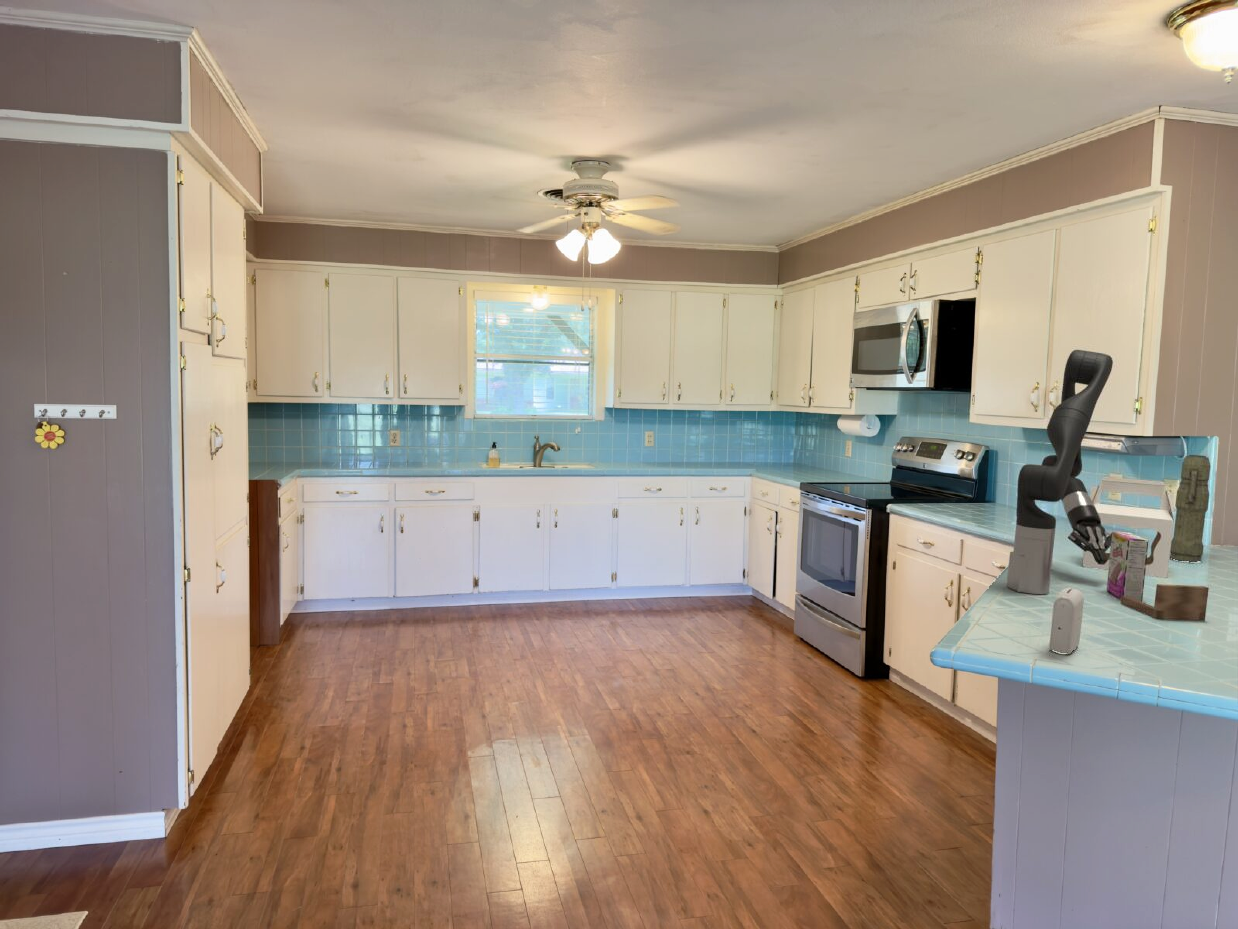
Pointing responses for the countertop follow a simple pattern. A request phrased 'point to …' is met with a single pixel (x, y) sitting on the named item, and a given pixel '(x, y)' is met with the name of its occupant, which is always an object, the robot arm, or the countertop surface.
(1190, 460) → the moai statue
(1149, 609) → the walnut rack
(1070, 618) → the photo printer
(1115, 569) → the candy bar box
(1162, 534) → the gable box
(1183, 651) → the countertop surface
